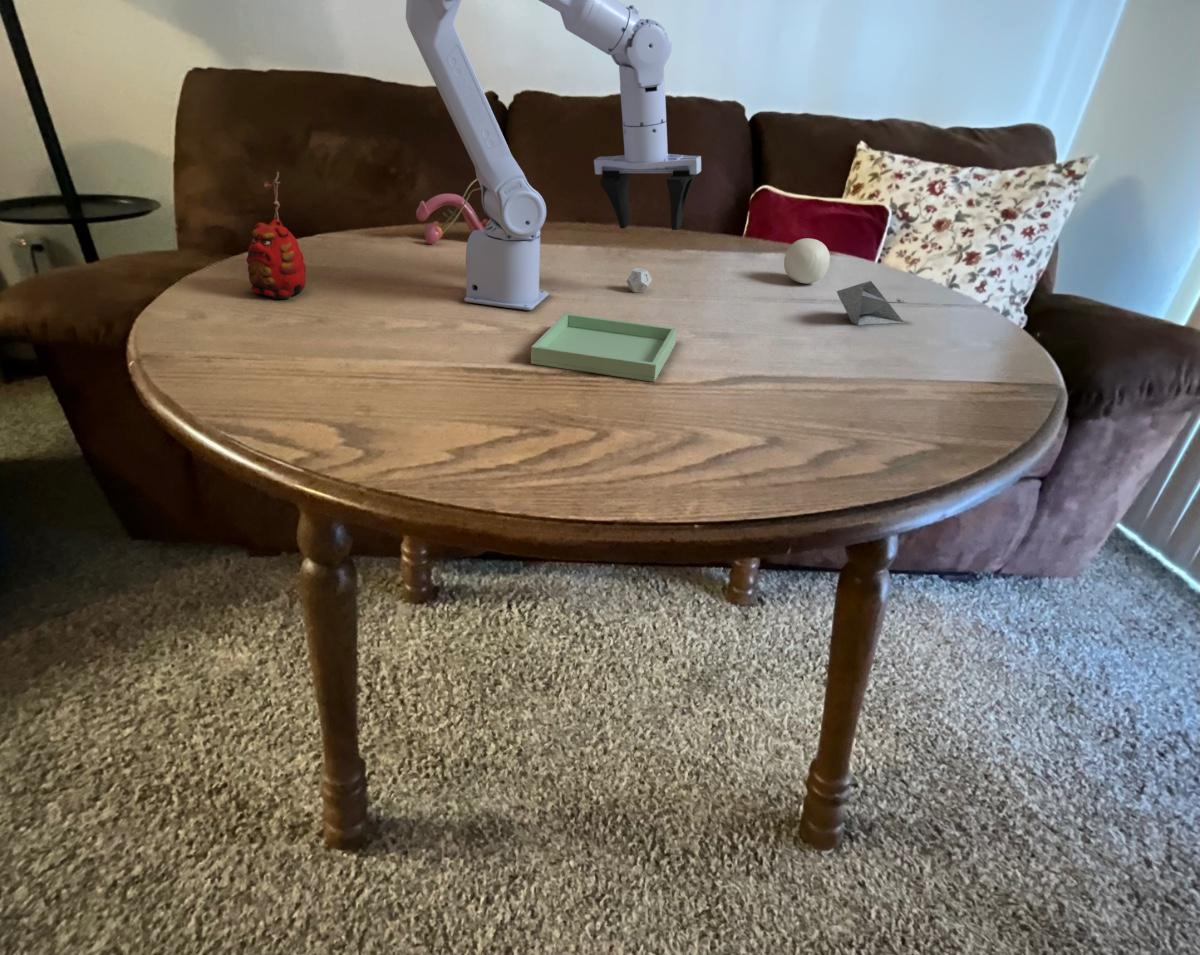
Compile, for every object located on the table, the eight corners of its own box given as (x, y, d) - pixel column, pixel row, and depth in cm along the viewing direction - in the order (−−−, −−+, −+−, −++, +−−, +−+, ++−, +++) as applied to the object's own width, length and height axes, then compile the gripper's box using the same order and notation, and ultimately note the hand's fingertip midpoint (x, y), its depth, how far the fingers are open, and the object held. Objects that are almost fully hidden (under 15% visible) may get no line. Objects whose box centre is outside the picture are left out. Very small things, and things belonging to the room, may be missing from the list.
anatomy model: (403, 214, 143) (461, 145, 140) (464, 267, 150) (521, 203, 147) (406, 228, 134) (468, 155, 131) (471, 284, 141) (532, 216, 138)
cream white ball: (832, 281, 133) (840, 238, 130) (816, 291, 127) (824, 246, 124) (791, 273, 136) (798, 231, 133) (774, 282, 131) (781, 238, 127)
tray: (530, 363, 95) (531, 346, 94) (564, 328, 106) (564, 312, 105) (654, 382, 92) (656, 364, 91) (675, 343, 103) (677, 328, 102)
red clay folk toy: (238, 294, 110) (220, 174, 103) (275, 282, 116) (260, 167, 109) (285, 304, 108) (270, 182, 101) (321, 290, 114) (309, 174, 107)
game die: (621, 288, 123) (623, 267, 122) (644, 286, 125) (646, 266, 123) (632, 294, 120) (633, 274, 119) (655, 293, 122) (657, 272, 120)
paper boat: (869, 299, 121) (931, 298, 114) (857, 341, 121) (919, 342, 114) (828, 262, 113) (891, 258, 106) (815, 306, 112) (878, 306, 106)
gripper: (706, 115, 110) (709, 220, 118) (604, 118, 116) (612, 218, 123) (690, 126, 105) (694, 235, 112) (584, 128, 110) (593, 232, 118)
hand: (650, 227), depth 117 cm, fingers open, 7 cm apart
